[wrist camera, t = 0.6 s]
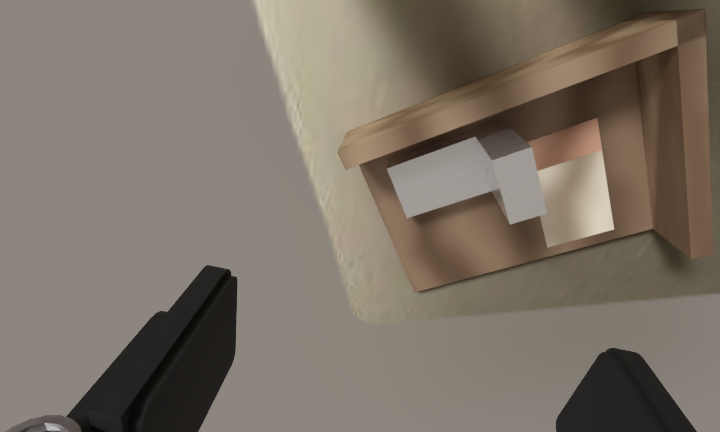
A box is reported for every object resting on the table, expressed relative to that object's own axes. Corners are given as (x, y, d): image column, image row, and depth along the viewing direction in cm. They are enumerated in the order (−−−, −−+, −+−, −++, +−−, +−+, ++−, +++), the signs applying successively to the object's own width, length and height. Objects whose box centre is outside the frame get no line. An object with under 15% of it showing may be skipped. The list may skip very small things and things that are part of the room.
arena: (645, 12, 27) (705, 9, 22) (664, 218, 34) (713, 253, 29) (347, 132, 33) (337, 152, 28) (414, 286, 40) (416, 326, 35)
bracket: (501, 119, 31) (531, 146, 24) (515, 173, 33) (547, 213, 26) (387, 161, 33) (383, 197, 26) (406, 208, 35) (408, 254, 28)
